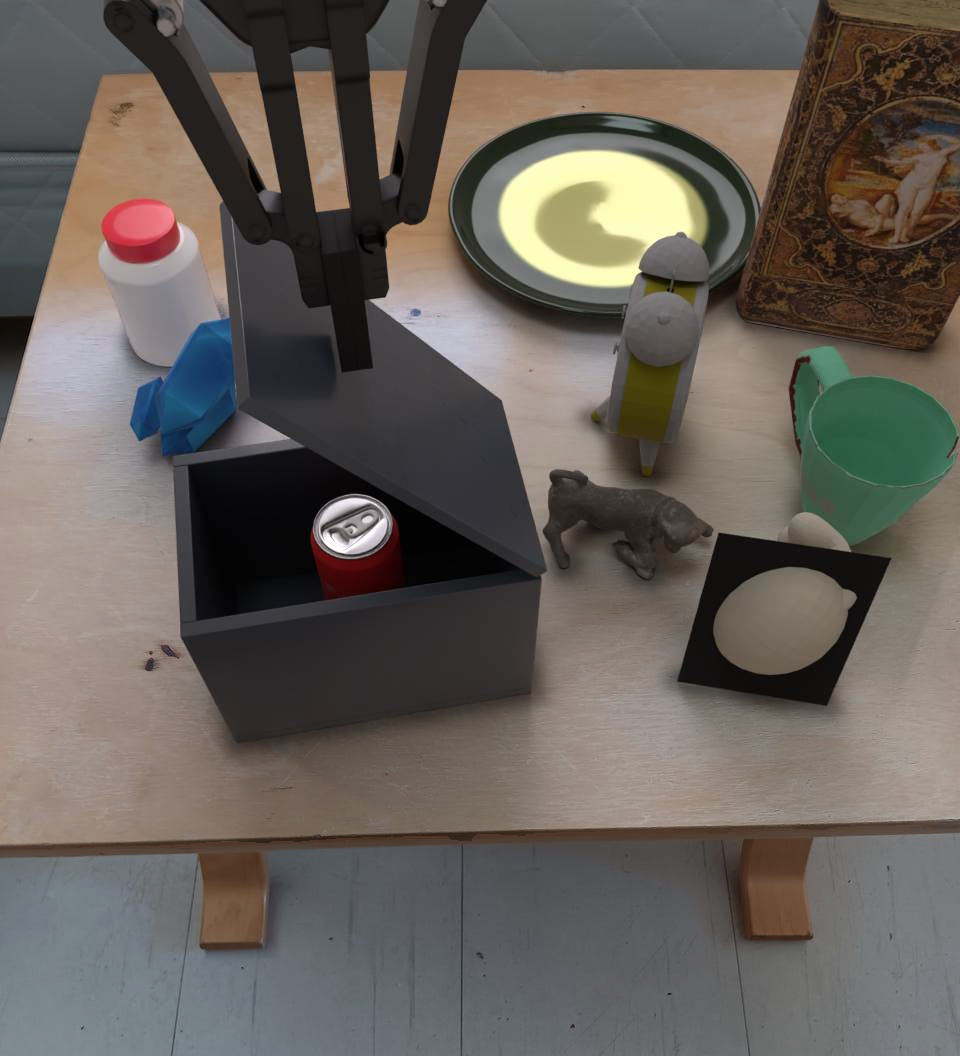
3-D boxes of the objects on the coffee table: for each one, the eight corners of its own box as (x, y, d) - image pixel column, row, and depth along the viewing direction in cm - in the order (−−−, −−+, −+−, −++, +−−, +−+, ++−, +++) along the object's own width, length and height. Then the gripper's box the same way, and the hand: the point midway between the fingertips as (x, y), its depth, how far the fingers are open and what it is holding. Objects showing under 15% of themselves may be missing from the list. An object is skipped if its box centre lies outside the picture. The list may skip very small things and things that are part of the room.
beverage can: (319, 625, 68) (290, 520, 58) (380, 585, 70) (362, 476, 60) (364, 676, 66) (342, 578, 56) (425, 634, 68) (415, 530, 58)
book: (732, 319, 84) (818, 12, 63) (739, 277, 87) (825, -32, 65) (929, 354, 82) (1089, 48, 61) (931, 309, 85) (1085, 1, 63)
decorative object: (680, 609, 72) (819, 630, 72) (675, 712, 65) (830, 737, 64) (718, 462, 64) (877, 484, 63) (718, 562, 56) (897, 589, 55)
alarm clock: (664, 489, 75) (703, 339, 62) (576, 473, 76) (596, 322, 63) (684, 380, 81) (723, 221, 68) (602, 366, 82) (625, 206, 69)
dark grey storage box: (236, 743, 65) (180, 637, 53) (224, 582, 71) (172, 455, 59) (531, 692, 67) (542, 579, 55) (494, 540, 73) (497, 408, 61)
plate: (752, 354, 82) (759, 331, 80) (422, 317, 85) (421, 294, 82) (758, 148, 96) (765, 124, 94) (475, 121, 98) (475, 96, 96)
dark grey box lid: (236, 409, 40) (249, 397, 39) (218, 204, 46) (229, 193, 45) (536, 578, 55) (548, 571, 54) (492, 407, 61) (502, 399, 60)
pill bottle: (192, 289, 86) (156, 175, 77) (240, 338, 83) (209, 225, 74) (113, 329, 84) (66, 216, 74) (160, 381, 81) (117, 270, 71)
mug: (929, 555, 72) (990, 466, 64) (808, 590, 71) (853, 504, 62) (833, 412, 79) (876, 314, 71) (721, 441, 78) (751, 344, 69)
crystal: (86, 401, 71) (177, 271, 74) (139, 459, 79) (219, 341, 82) (170, 439, 69) (259, 305, 72) (215, 495, 77) (294, 373, 80)
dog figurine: (534, 562, 72) (539, 499, 66) (552, 501, 75) (559, 434, 68) (697, 600, 70) (719, 538, 64) (710, 536, 73) (732, 471, 67)
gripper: (-10, -249, 24) (218, 429, 44) (527, -290, 25) (506, 388, 45) (5, -362, 27) (209, 312, 48) (472, -393, 28) (475, 277, 49)
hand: (353, 349), depth 46 cm, fingers closed
